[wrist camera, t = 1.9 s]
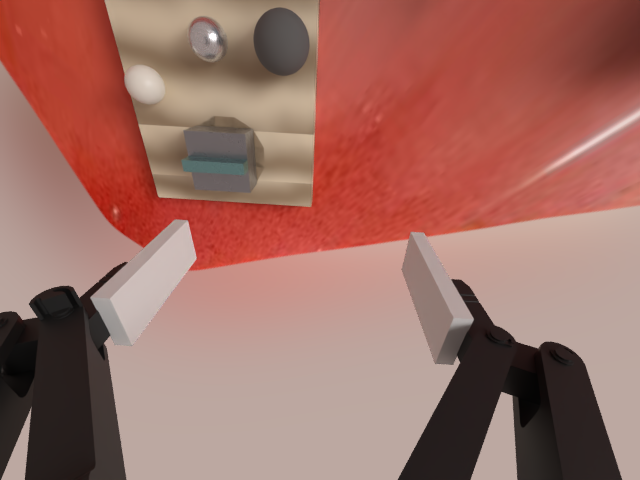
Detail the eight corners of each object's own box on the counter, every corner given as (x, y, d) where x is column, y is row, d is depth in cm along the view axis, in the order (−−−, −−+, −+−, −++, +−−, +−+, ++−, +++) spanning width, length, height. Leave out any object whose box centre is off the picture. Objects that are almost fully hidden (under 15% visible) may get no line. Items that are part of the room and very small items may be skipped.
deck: (114, -25, 27) (95, -34, 25) (320, -14, 26) (318, -22, 24) (168, 190, 38) (158, 197, 36) (312, 199, 38) (310, 206, 36)
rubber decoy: (258, 11, 26) (243, -1, 21) (312, 14, 26) (308, 3, 21) (262, 74, 28) (249, 74, 24) (310, 77, 28) (306, 77, 24)
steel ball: (194, 18, 26) (175, 11, 23) (230, 20, 26) (217, 13, 23) (200, 62, 28) (184, 60, 25) (234, 64, 28) (222, 63, 25)
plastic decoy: (133, 64, 28) (110, 63, 25) (167, 66, 28) (147, 65, 25) (143, 101, 30) (122, 105, 27) (175, 103, 30) (157, 107, 27)
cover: (196, 125, 31) (175, 133, 27) (253, 128, 31) (240, 137, 27) (206, 180, 34) (188, 194, 30) (257, 183, 34) (246, 198, 30)
